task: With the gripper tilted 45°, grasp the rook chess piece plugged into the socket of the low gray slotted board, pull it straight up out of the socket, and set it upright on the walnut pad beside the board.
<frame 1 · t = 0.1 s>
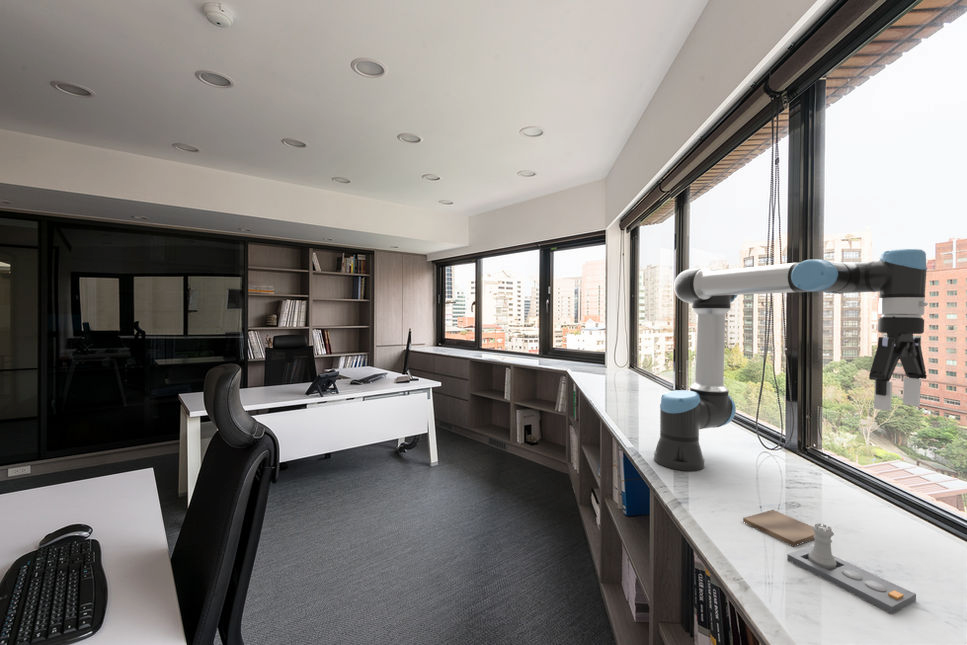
hand: (897, 407, 95), 28 cm above the table, tool pointing down, fingers open, 13 cm apart
rook chess piece: (822, 567, 80), resting in gray slotted board
gray slotted board: (846, 578, 76), on the table
walnut pad: (782, 528, 94), on the table
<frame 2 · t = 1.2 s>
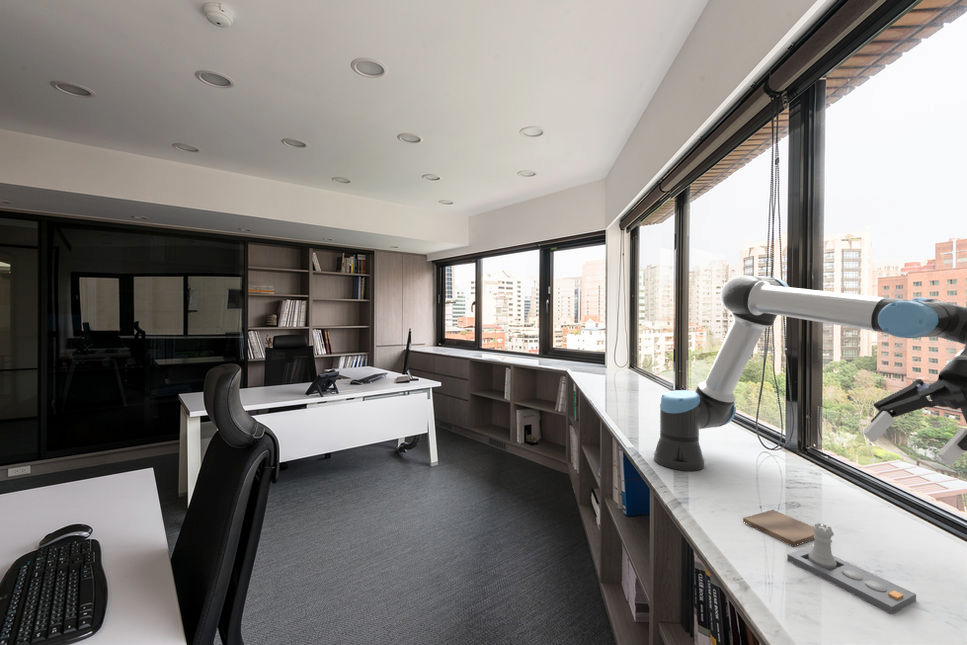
hand: (902, 447, 80), 23 cm above the table, tool tilted 45°, fingers open, 13 cm apart
nothing on the table moved.
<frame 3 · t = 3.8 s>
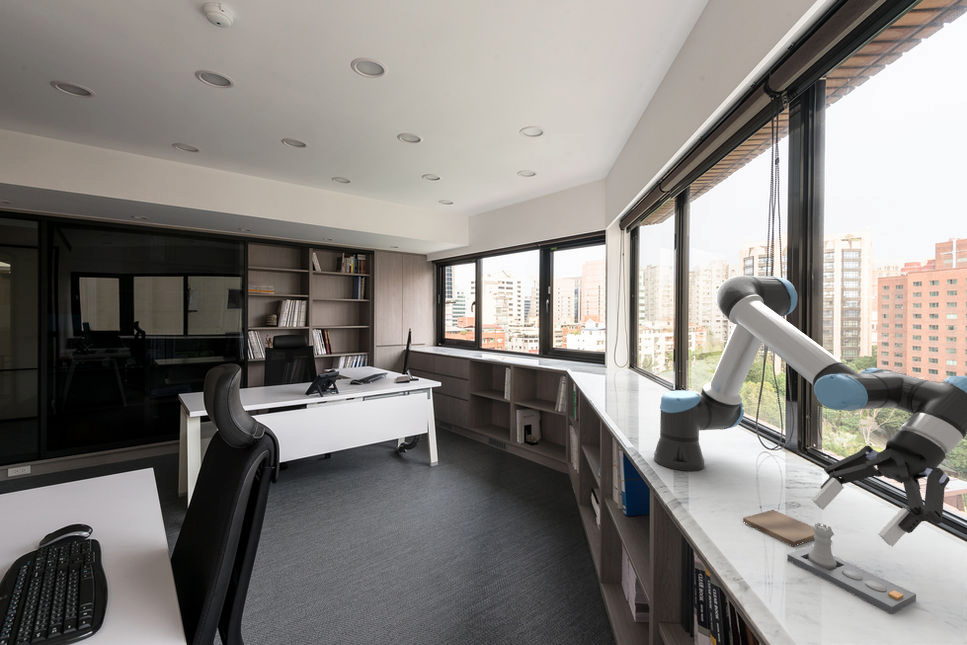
hand: (848, 521, 79), 9 cm above the table, tool tilted 45°, fingers open, 13 cm apart
nothing on the table moved.
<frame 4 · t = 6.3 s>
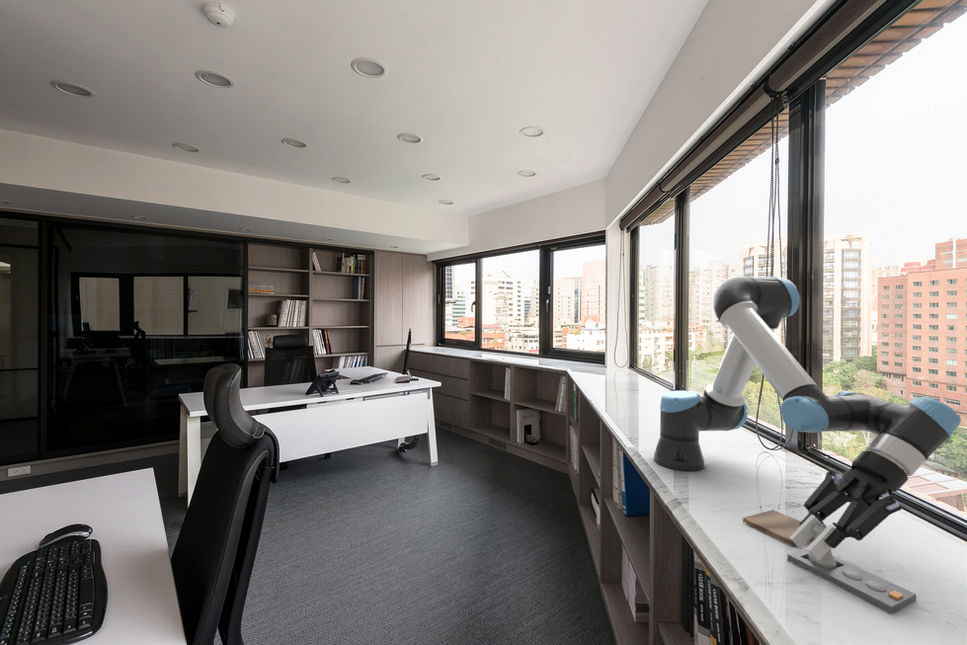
hand: (803, 548, 80), 4 cm above the table, tool tilted 45°, fingers closed on rook chess piece, 3 cm apart
rook chess piece: (821, 567, 80), resting in gray slotted board, touching gripper
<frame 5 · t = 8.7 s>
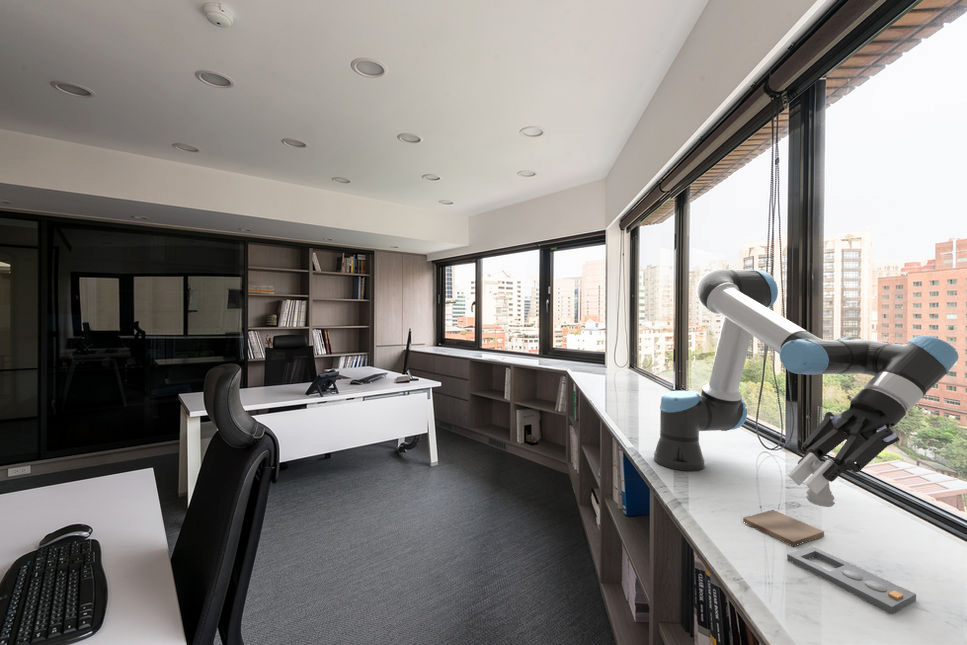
hand: (802, 484, 81), 16 cm above the table, tool tilted 45°, fingers closed on rook chess piece, 3 cm apart
rook chess piece: (820, 503, 81), point 12 cm above the table, touching gripper
when the fingers open (6 cm above the table, at t = 11.6 s): rook chess piece drops 1 cm, resting on walnut pad.
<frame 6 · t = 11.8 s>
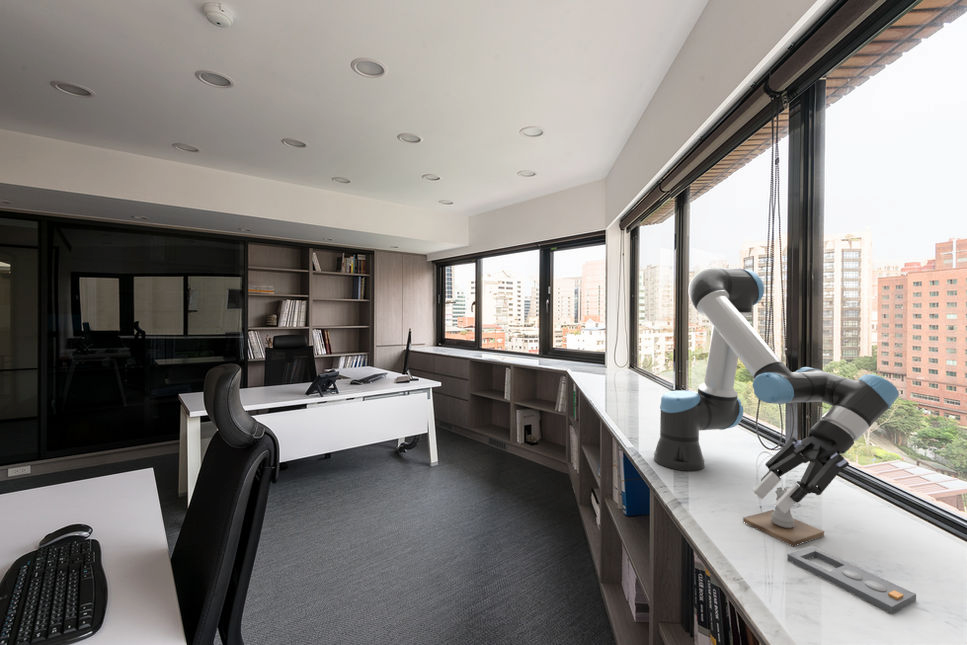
hand: (768, 501, 94), 6 cm above the table, tool tilted 45°, fingers open, 6 cm apart
rook chess piece: (782, 524, 94), point 1 cm above the table, touching walnut pad
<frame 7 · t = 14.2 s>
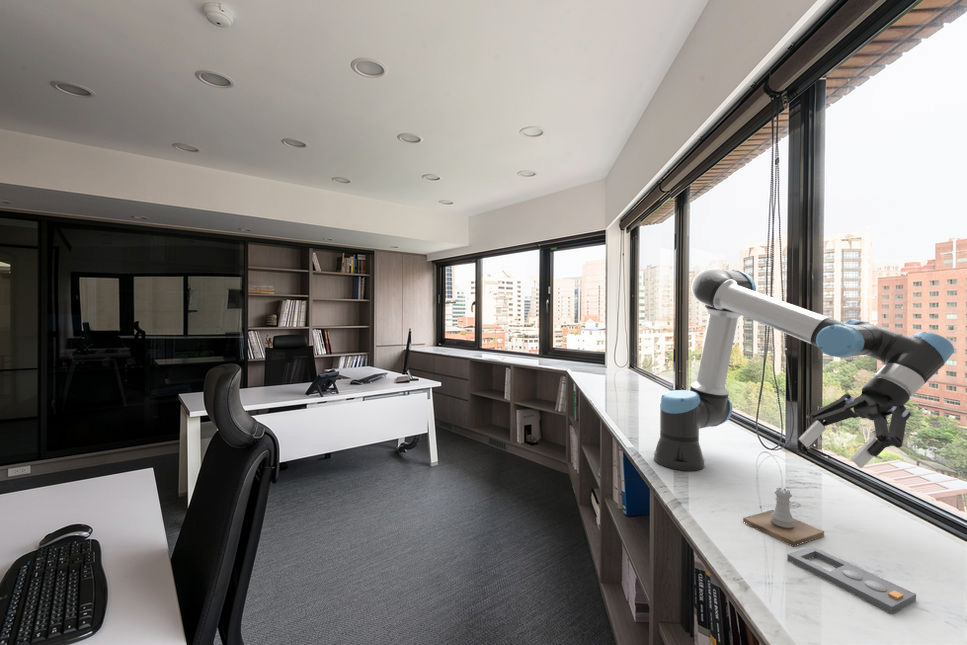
hand: (827, 452, 94), 18 cm above the table, tool tilted 45°, fingers open, 13 cm apart
nothing on the table moved.
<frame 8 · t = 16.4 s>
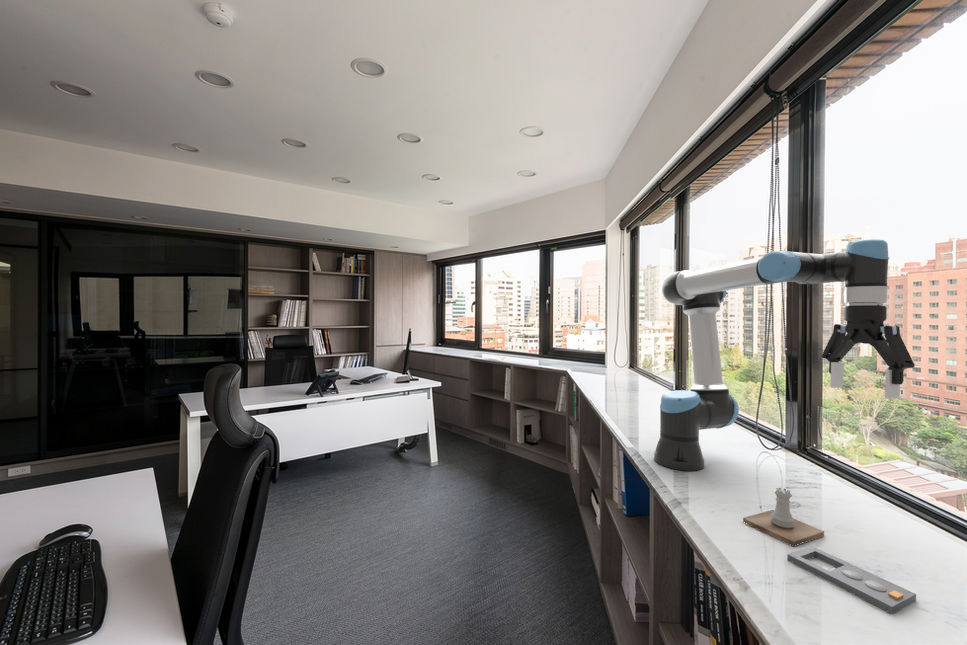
hand: (862, 392, 99), 31 cm above the table, tool pointing down, fingers open, 13 cm apart
nothing on the table moved.
at the end: rook chess piece inside the target area on the walnut pad (0.1 cm from its centre), point 0.8 cm above the walnut pad's base; rook chess piece tilted 0°; the gripper is holding nothing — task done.
